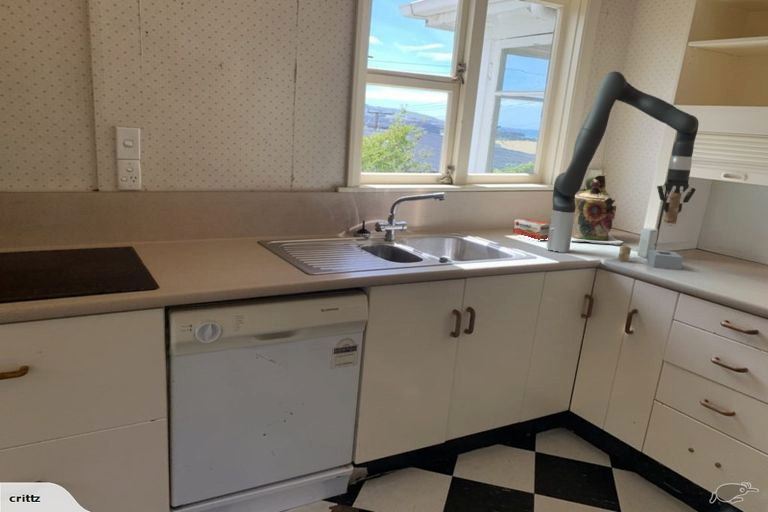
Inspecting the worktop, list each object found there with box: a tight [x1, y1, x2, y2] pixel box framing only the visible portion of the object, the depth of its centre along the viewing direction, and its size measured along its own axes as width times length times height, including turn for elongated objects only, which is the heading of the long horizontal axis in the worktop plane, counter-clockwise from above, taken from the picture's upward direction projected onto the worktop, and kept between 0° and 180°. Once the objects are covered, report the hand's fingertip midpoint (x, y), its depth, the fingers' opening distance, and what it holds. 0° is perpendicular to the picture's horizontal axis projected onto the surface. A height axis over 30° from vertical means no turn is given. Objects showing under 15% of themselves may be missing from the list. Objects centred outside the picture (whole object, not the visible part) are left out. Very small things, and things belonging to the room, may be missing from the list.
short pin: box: [617, 244, 632, 263], centre depth 223 cm, size 3×3×6 cm
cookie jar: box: [571, 173, 624, 246], centre depth 262 cm, size 25×25×32 cm
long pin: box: [664, 193, 682, 225], centre depth 214 cm, size 3×3×12 cm
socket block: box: [646, 249, 684, 271], centre depth 220 cm, size 10×10×5 cm
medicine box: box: [512, 218, 551, 240], centre depth 259 cm, size 15×8×8 cm, turn 40°
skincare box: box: [637, 227, 659, 259], centre depth 233 cm, size 6×4×12 cm
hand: (671, 212), depth 214 cm, fingers closed on long pin, 3 cm apart
